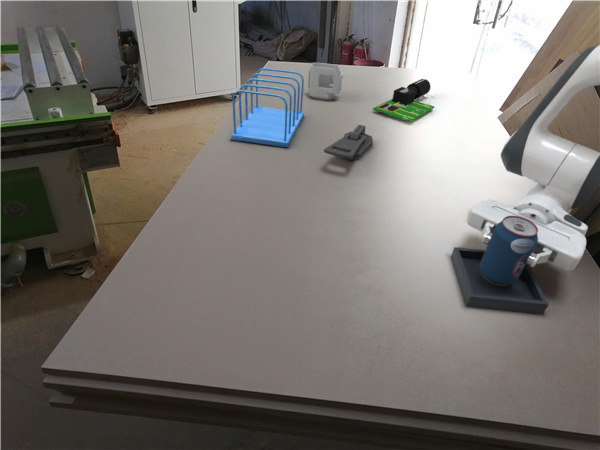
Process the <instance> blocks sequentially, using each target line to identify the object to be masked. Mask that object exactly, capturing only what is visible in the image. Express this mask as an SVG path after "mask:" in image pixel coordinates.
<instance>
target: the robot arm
mask: <svg viewBox="0 0 600 450" xmlns="http://www.w3.org/2000/svg"><path fill="white" fill-rule="evenodd" d="M595 86H596V87H597V86H600V44H596V45H592V46H588V47H587V48H586V49H584V50H583V51H582V52H581V53H580V54H578V56H577V57H576V58H575V59H574V60H573V61H572V62H571V63H570V65H569V66H568V67H567V68H566V69H565V70H564V72H563V73H562V74H561V76H560V77H559V78H558V79H557V80H556V81H555V83H554V84H553V85H552V86H551V88H550V89H549V91H548V92H547V93H546V94H545V95H544V97H543V98H542V99H541V100H540V102H539V103H538V104H537V105H536V107H535V108H534V109H533V110H532V112H531V113H530V114H529V116H528V117H527V119H525V121H524V122H523V123H522V124H521V125H520V127H519V128H517V129H516V130H515V131H514V133H512V134H511V135H510V136H509V138H508V139H507V140H506V141H505V143H504V145H503V147H502V149H501V152H500V159H501V162H502V165H503V166H504V168H505V170H506V171H507V172H509V173H511V174H514V175H517V176H520V177H524V178H526V179H528V180H531V181H533V182H534V183H537V184H535V186H533V187H532V188H531V189H530V190H529V191H528V192H527V193H526V195H524V197H522V198H521V199H520V200H519V201H518V202H517V203H516V204H515V205H514V206H513V207H511V206H508V205H506V204H503V203H502V202H499V201H496V200H493V199H485V200H484V199H482V200H480V201H479V202H478V203H476V204H474V205H473V206H472V207H471V208H470V209H469V211H468V214H467V217H466V223H467V225H468V226H469V227H471V228H474V229H475V230H477V231H479V232H481V235H482V237H481V239H480V243H482V244H484V245H486V246H488V244H489V241H490V239H491V236H492V234H493V232H494V229H495V227H496V225H497V224H498V223H500V222H501V221H502V220H503V219H504V218H505V217H507V216H519V217H523V218H526V219H528V220H530V221H531V222H533V223H534V224H535V225H536V226H537V228H538V233H537V236H538V241H537V243H536V245H535V247H534V249H533V251H532V253H531V255H530V256H529V257H528V259H527V261H526V262H525V263H526V264H528V265H529V267H530V268H535V266H536V265H540V264H546V263H548V264H550V265H552V266H555V267H557V268H559V269H561V270H563V271H566V272H573V271H574V270H575V269H576V268H577V266H578V264H579V263H580V262H581V259H582V258H583V255H584V254H585V251H586V247H587V238H586V234H587V232H588V229H589V226H588V225H587V224H585V223H584V222H583V221H581V220H579V219H577V218H575V217H574V216H572V215H571V214H570V213H571V212H572V211H573V210H574V209H577V208H579V207H582V206H584V205H585V204H587V202H588V201H589V200H590V199H591V197H593V195H594V194H595V192H596V190H597V189H598V188H599V186H600V152H599V151H598V150H597V151H596V150H594V149H592V148H589V147H587V146H585V145H582V144H580V143H576V142H574V141H571V140H569V139H566V138H564V137H562V136H559V135H556V134H554V133H552V132H551V131H549V126H550V125H551V124H552V123H553V121H554V120H555V119H556V118H557V117H558V116H559V114H560V113H561V112H562V111H563V109H564V108H565V107H566V106H567V105H568V104H569V102H570V101H571V100H572V99H573V98H574V97H575V95H576V94H578V93H580V92H581V91H583V90H585V89H587V88H590V87H595Z"/></svg>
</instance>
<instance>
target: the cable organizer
mask: <svg viewBox="0 0 600 450" xmlns="http://www.w3.org/2000/svg"><path fill="white" fill-rule="evenodd" d="M343 75H344V72H342V71H341V69H340V67H339V65H338V64H335V63H334V64H332V63H326V62H325V63H323V62H312V64H310V68H309V69H308V77H307V88H308V89H309V96H310V97H311V98H312V99H314V100H320V101H321V100H322V101H329V102H330V101H331V100H334V98H335V97H336V95H339V94H340V92H341V91H342V84H343Z"/></svg>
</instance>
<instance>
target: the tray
mask: <svg viewBox="0 0 600 450" xmlns="http://www.w3.org/2000/svg"><path fill="white" fill-rule="evenodd" d="M485 250H486V249H477V248H467V247H457V246H454V247H453V250H452V252H451V255H450V259H451V261H452V265H453V268H454V271H455V274H456V278H457V282H458V284H459V289H460V291H461V295H462V298H463V301H464V304H465V307H471V308H480V309H488V310H500V311H508V312H517V313H518V312H519V313H529V314H539V315H544V313H545V311H546V310H547V308H549V305H550V303H549V302H548V300H547V297H546V296H545V294H544V292H543V290H542V288H541V287H540V284H539V283H538V281H537V279H536V277H535V275H534V273H533V271H532V269H531V266H530V265H528V264H526V265H525V266H524V268H523V270H522V272H521V274H520V276H519V278H518V280H517V281H516V282H514V283H512V284H509V285H506V286H499V285H495V284H492V283H490V282H489V281H487V280H486V279H485V278H484V277H483V275H482V273H481V270H480V262H481V260H482V257H483V255H484V253H485Z"/></svg>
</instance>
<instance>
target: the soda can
mask: <svg viewBox="0 0 600 450" xmlns="http://www.w3.org/2000/svg"><path fill="white" fill-rule="evenodd" d="M537 233H538V228H537V226H536V225H535V224H534V223H533V222H531V221H530V220H528V219H526V218H523V217H519V216H507V217H505V218H504V219H503V220H502V221H501V222H500V223H498V224H497V225H496V227H495V229H494V232H493V234H492V236H491V239H490V241H489V244H488V245H486V248H485V249H484V250H485V253H484V255H483V257H482V260H481V262H480V270H481V273H482V275H483V277H484V278H485V279H486V280H487V281H489V282H490V283H492V284H495V285H499V286H506V285H509V284H512V283H514V282H516V281H517V280H518V278H519V276H520V274H521V272H522V270H523V268H524V266H525V265H526V263H525V262H526V261H527V259H528V257H529V256H530V255H531V253H532V251H533V249H534V247H535V245H536V243H537V241H538V236H537Z"/></svg>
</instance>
